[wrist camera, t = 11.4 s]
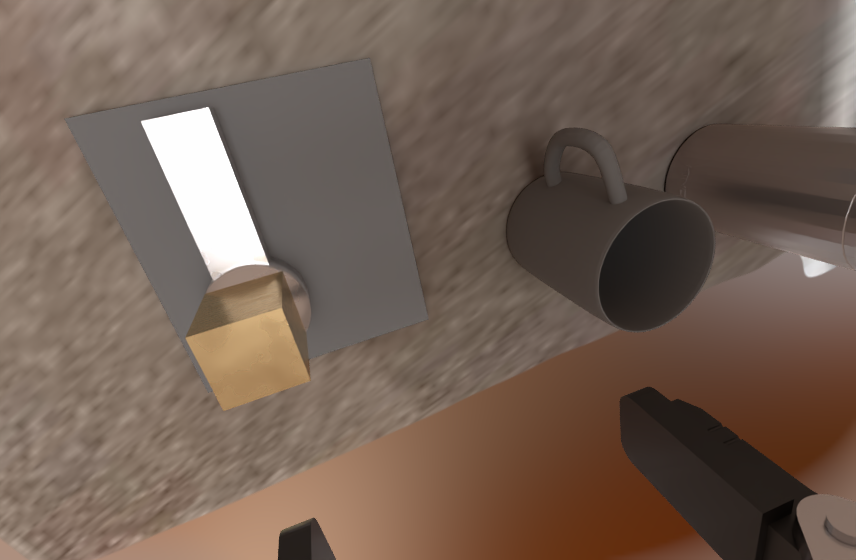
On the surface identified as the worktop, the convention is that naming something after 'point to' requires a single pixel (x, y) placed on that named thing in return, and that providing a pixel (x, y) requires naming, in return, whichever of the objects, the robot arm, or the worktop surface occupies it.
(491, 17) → the worktop surface
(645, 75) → the worktop surface
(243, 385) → the wooden toy cube
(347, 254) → the mat
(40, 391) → the worktop surface
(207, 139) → the ratchet
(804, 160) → the robot arm
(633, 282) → the mug
